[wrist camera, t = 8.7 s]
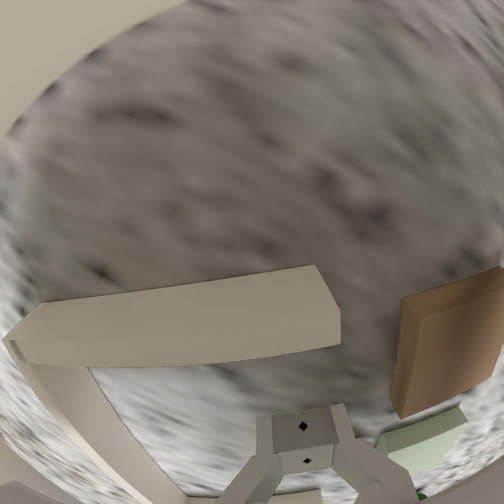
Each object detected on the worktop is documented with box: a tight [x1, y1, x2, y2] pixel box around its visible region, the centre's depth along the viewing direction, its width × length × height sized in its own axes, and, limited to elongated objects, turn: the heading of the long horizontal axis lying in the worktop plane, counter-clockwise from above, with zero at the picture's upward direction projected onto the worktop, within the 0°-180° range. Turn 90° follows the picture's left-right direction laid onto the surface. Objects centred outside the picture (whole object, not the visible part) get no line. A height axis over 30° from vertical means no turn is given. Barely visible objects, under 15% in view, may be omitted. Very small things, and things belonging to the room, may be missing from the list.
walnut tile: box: [390, 266, 504, 419], centre depth 10 cm, size 6×6×2 cm
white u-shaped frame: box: [2, 264, 341, 504], centre depth 11 cm, size 12×20×3 cm, turn 10°
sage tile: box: [375, 406, 468, 476], centre depth 13 cm, size 6×6×2 cm
